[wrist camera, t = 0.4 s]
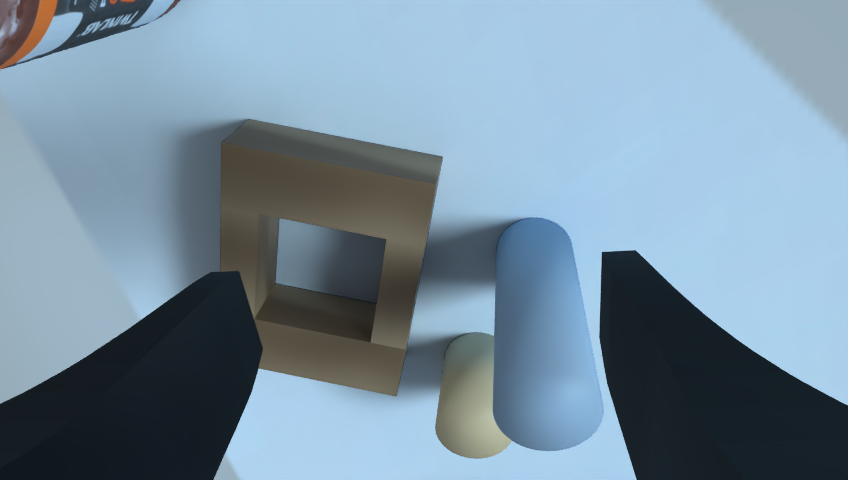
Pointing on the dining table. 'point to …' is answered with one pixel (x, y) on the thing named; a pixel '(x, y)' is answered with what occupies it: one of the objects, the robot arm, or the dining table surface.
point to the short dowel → (469, 399)
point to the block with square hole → (334, 208)
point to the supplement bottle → (67, 24)
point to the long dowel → (542, 341)
